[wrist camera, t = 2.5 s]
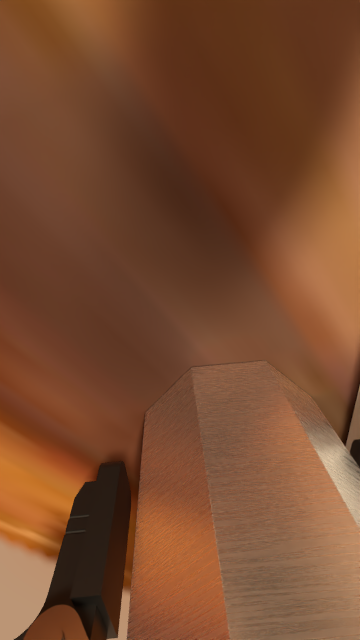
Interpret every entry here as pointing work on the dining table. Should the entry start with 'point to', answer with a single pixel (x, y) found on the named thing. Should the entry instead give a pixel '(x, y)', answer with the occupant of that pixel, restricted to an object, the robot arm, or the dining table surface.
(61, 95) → the dining table surface
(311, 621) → the collar
